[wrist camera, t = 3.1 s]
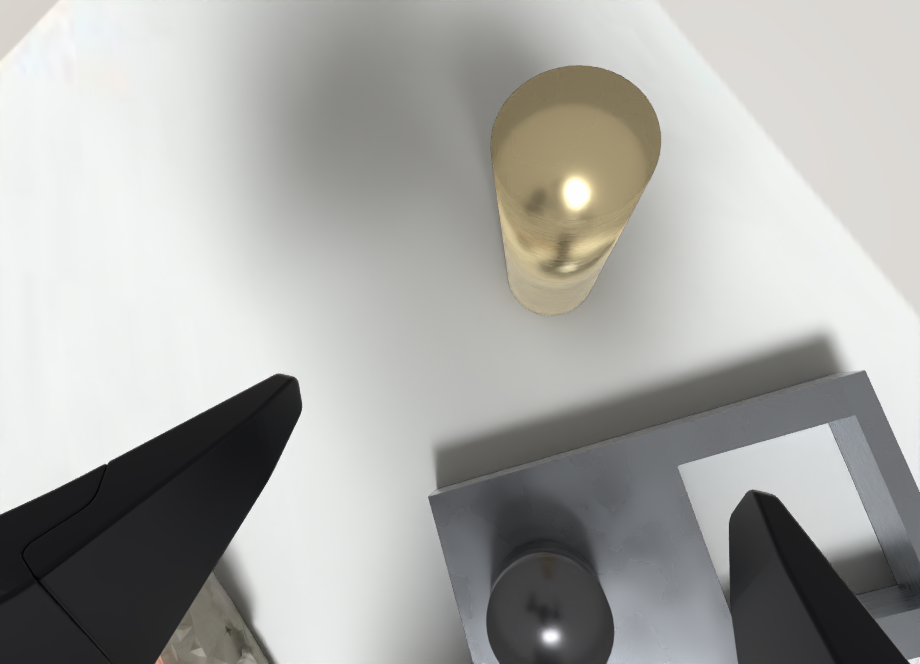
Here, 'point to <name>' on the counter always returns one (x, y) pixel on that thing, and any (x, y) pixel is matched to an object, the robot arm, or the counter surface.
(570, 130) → the brass cylinder
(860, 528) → the counter surface
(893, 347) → the counter surface
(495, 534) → the grey block with opening
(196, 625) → the packaged product
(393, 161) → the counter surface
